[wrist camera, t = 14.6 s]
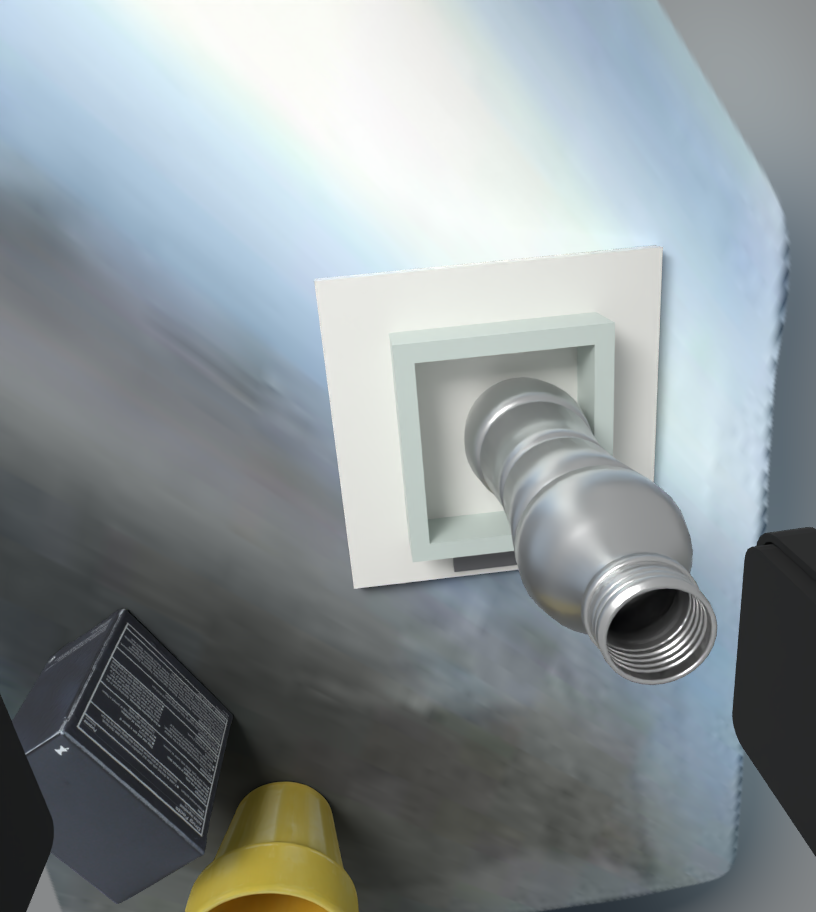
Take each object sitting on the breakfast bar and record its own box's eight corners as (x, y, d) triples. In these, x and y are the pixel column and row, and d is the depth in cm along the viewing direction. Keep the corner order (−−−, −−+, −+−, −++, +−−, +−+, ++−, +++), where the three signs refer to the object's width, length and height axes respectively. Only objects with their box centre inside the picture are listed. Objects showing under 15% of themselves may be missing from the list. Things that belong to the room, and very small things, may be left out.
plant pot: (176, 832, 51) (139, 977, 42) (263, 733, 48) (244, 863, 39) (299, 892, 54) (289, 1039, 44) (387, 802, 51) (396, 937, 42)
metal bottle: (520, 342, 39) (679, 493, 21) (598, 427, 41) (806, 634, 23) (432, 423, 40) (506, 636, 22) (512, 502, 43) (641, 757, 24)
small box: (42, 658, 45) (-42, 792, 35) (124, 602, 44) (61, 724, 34) (159, 765, 49) (112, 914, 39) (237, 715, 48) (210, 855, 38)
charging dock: (315, 278, 38) (311, 289, 34) (655, 245, 39) (687, 252, 35) (354, 579, 45) (354, 616, 41) (644, 546, 45) (671, 579, 42)
